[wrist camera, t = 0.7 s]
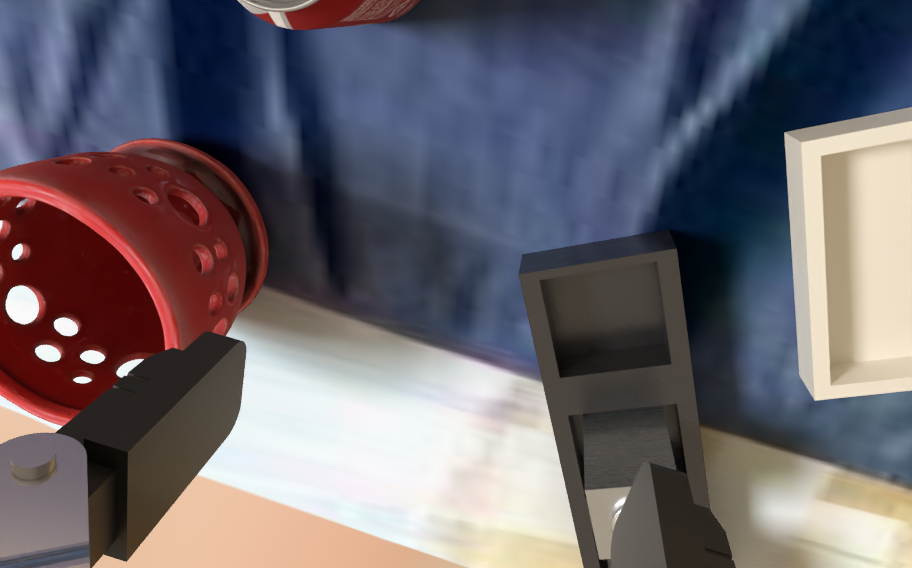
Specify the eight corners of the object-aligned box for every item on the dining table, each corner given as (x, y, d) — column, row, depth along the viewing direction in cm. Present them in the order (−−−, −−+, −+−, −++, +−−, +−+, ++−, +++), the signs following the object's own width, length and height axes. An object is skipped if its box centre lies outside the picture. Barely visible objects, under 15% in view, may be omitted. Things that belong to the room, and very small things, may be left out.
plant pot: (69, 119, 38) (-131, 165, 27) (280, 133, 37) (156, 188, 26) (109, 318, 44) (-46, 422, 33) (295, 338, 42) (198, 456, 31)
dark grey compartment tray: (668, 229, 35) (676, 248, 32) (712, 566, 43) (722, 604, 41) (522, 254, 37) (518, 274, 34) (591, 573, 45) (593, 609, 42)
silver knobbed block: (659, 392, 38) (681, 491, 31) (668, 454, 40) (691, 563, 32) (582, 401, 39) (585, 498, 32) (594, 461, 41) (599, 568, 33)
